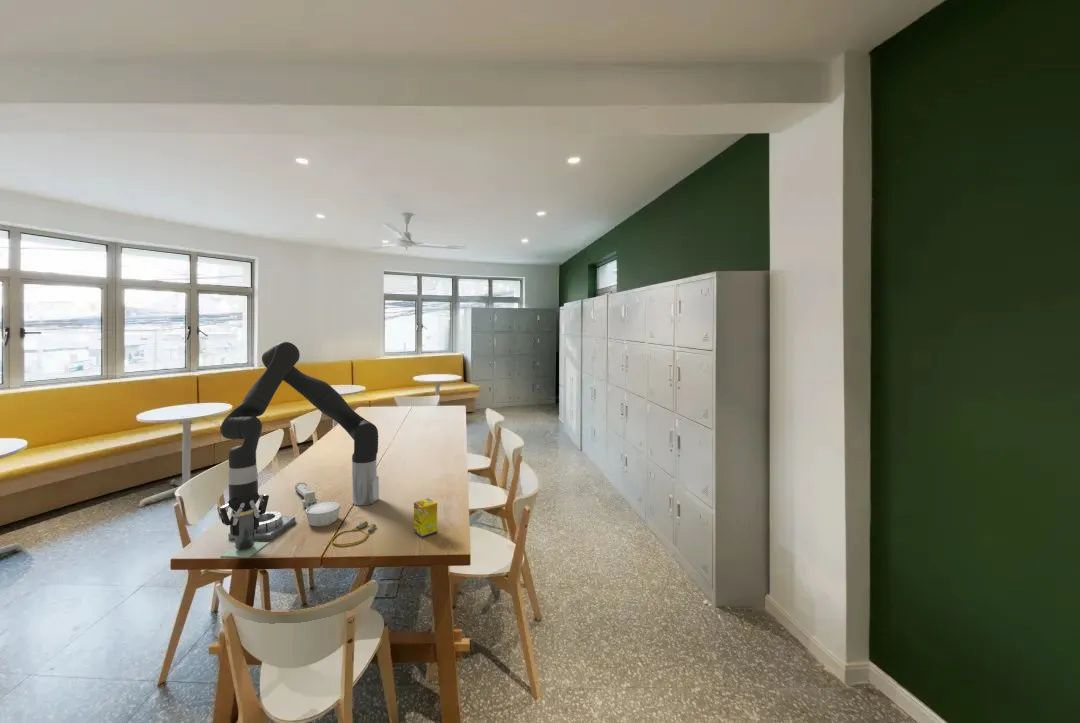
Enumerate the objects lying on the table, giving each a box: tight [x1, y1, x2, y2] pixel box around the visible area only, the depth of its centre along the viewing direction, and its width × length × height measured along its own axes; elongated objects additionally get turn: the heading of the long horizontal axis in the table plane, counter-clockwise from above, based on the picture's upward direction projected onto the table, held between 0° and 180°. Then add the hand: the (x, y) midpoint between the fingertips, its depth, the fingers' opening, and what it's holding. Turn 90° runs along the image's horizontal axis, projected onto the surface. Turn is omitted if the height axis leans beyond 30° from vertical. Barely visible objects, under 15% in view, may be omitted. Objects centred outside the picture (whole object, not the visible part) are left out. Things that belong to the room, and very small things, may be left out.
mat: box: [220, 541, 269, 559], centre depth 135 cm, size 9×9×1 cm
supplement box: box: [413, 497, 438, 539], centre depth 148 cm, size 6×6×11 cm
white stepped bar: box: [294, 481, 319, 509], centre depth 176 cm, size 5×7×25 cm
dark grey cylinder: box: [234, 508, 256, 550], centre depth 134 cm, size 5×5×12 cm
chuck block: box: [227, 510, 296, 541], centre depth 148 cm, size 14×14×4 cm
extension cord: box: [331, 520, 377, 548], centre depth 145 cm, size 12×16×2 cm
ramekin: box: [305, 501, 341, 527], centre depth 156 cm, size 11×11×5 cm
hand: (244, 532), depth 134 cm, fingers closed on dark grey cylinder, 5 cm apart
